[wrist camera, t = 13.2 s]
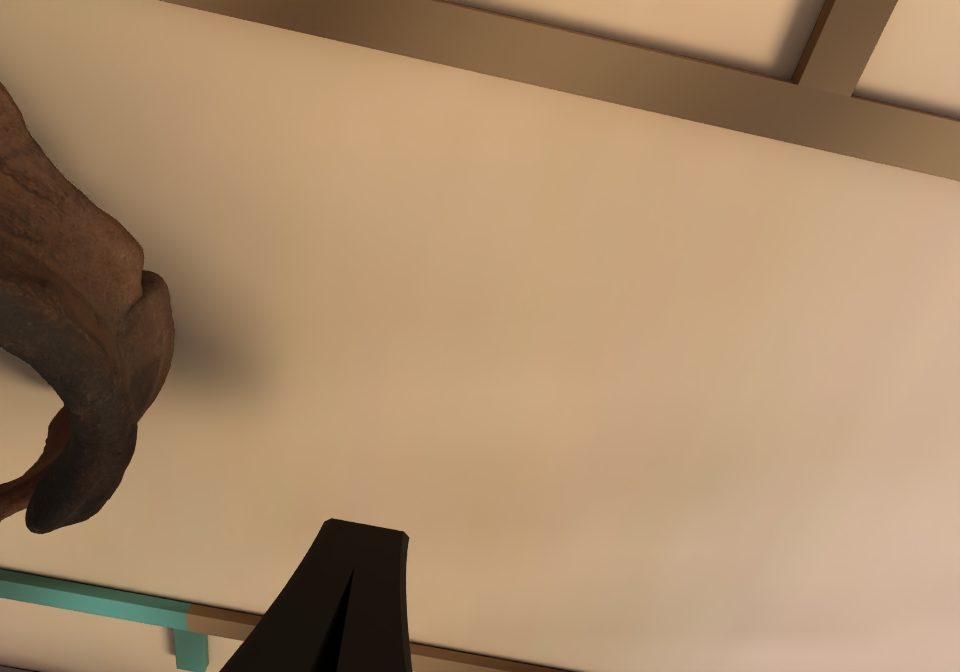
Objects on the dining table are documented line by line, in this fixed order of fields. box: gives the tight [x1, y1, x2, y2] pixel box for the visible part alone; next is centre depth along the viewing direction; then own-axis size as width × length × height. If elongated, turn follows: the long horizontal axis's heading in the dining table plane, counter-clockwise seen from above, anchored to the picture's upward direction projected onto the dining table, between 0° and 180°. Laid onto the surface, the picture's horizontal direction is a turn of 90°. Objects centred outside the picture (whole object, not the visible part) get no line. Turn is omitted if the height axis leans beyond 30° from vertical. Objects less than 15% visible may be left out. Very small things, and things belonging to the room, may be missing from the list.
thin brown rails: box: [0, 0, 960, 672], centre depth 14 cm, size 31×21×1 cm
